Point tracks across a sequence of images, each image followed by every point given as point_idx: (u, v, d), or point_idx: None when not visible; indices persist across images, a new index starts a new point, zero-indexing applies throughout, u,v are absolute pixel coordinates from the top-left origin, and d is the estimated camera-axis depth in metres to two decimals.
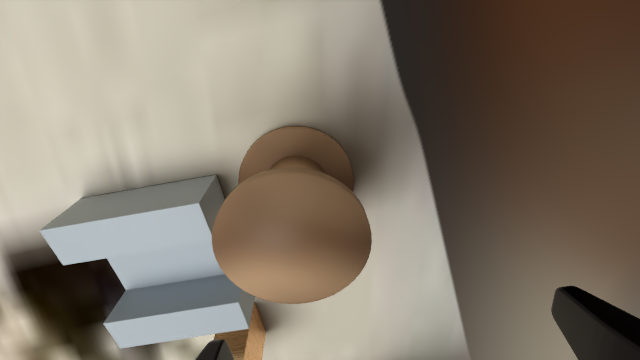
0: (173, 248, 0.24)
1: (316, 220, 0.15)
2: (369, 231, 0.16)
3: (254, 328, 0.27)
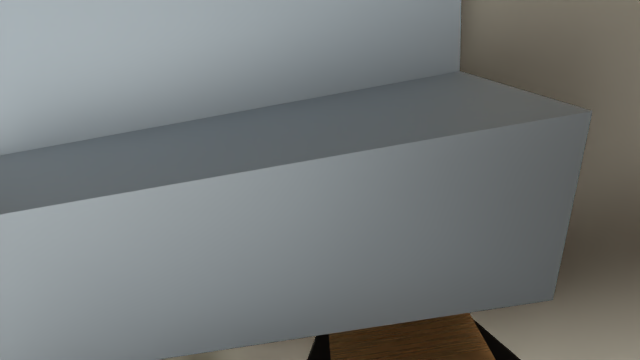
0: None
1: None
2: None
3: None
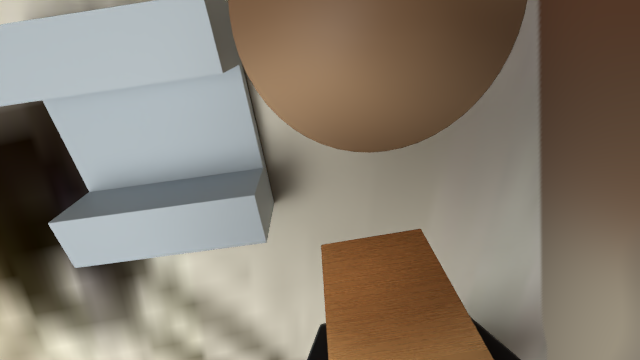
0: (159, 124, 0.16)
1: None
2: None
3: None
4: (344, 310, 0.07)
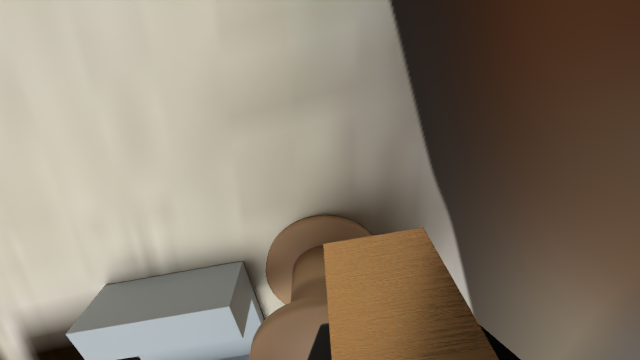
0: None
1: None
2: None
3: None
4: (347, 309, 0.07)
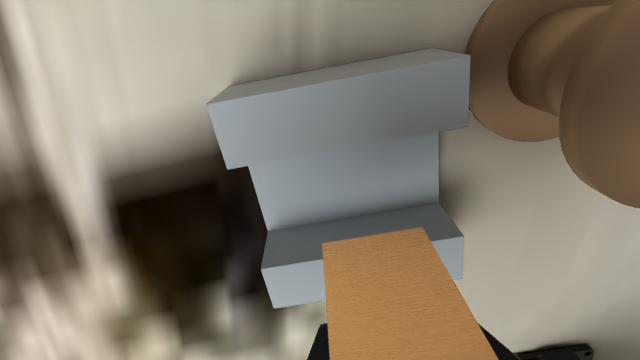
0: (349, 166, 0.17)
1: None
2: None
3: None
4: (346, 309, 0.07)
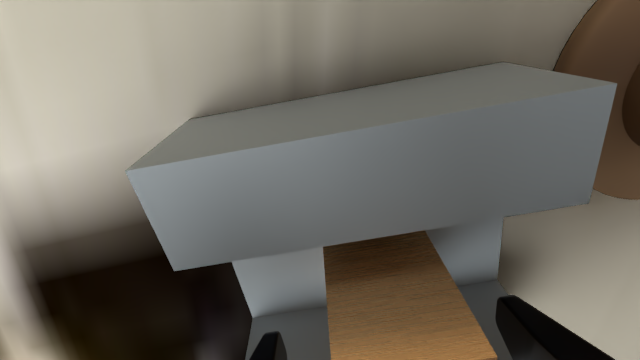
0: None
1: None
2: None
3: None
4: (337, 244, 0.09)
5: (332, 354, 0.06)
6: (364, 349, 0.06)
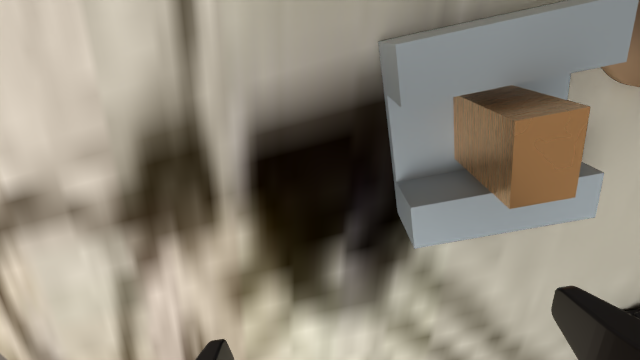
0: None
1: None
2: None
3: None
4: (481, 100, 0.15)
5: (508, 118, 0.13)
6: (524, 114, 0.13)
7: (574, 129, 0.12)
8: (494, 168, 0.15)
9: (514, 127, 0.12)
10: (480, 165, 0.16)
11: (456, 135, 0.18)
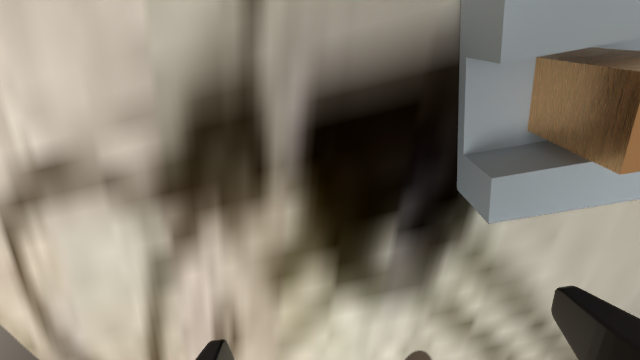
0: None
1: None
2: None
3: None
4: (579, 60, 0.14)
5: (636, 70, 0.12)
6: None
7: None
8: (598, 132, 0.13)
9: None
10: (572, 132, 0.15)
11: (534, 104, 0.17)
